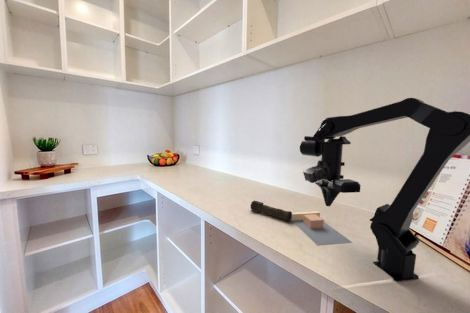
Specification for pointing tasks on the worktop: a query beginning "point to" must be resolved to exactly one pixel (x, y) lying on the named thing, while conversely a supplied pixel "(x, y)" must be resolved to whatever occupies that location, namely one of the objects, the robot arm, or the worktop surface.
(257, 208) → the hand tool
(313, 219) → the salmon brown block
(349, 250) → the worktop surface
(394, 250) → the robot arm
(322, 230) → the slate mat
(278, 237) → the worktop surface
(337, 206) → the worktop surface
